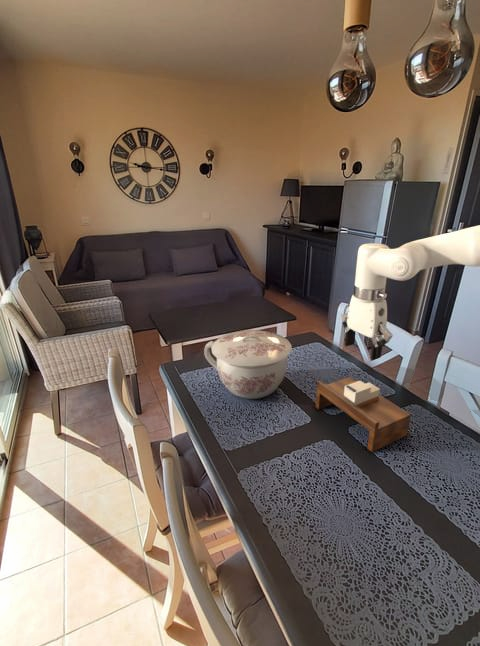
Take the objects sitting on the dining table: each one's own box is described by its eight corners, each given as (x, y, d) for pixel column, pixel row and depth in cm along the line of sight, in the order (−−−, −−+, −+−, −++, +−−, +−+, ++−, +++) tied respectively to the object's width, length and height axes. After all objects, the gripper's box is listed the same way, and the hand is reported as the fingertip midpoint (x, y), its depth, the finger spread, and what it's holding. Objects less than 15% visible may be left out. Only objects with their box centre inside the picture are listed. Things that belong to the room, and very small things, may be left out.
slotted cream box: (367, 392, 112) (369, 376, 109) (378, 399, 108) (381, 382, 106) (343, 401, 108) (344, 385, 105) (353, 409, 104) (355, 392, 102)
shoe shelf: (347, 395, 124) (350, 370, 120) (407, 435, 104) (412, 407, 100) (315, 407, 118) (317, 381, 114) (371, 452, 98) (376, 423, 94)
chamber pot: (306, 393, 125) (309, 339, 117) (239, 420, 112) (237, 362, 104) (260, 361, 147) (260, 314, 139) (200, 381, 134) (196, 330, 126)
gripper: (407, 299, 88) (396, 360, 95) (355, 282, 102) (349, 337, 109) (385, 304, 85) (376, 368, 92) (335, 286, 99) (330, 343, 106)
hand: (361, 351), depth 100 cm, fingers open, 9 cm apart
